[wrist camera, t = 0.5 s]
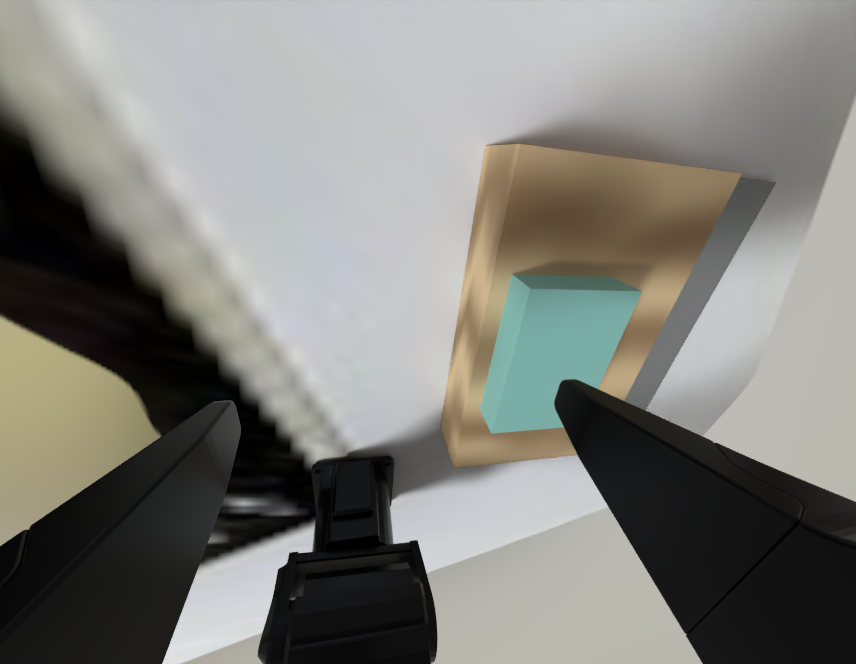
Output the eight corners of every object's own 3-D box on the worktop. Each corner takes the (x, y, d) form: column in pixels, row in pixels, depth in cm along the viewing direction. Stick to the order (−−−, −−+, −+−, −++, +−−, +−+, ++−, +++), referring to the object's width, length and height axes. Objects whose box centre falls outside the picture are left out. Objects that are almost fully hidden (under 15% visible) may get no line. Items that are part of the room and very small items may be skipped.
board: (568, 416, 28) (597, 452, 25) (440, 426, 26) (453, 468, 22) (672, 169, 19) (742, 173, 15) (485, 145, 16) (519, 143, 13)
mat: (641, 411, 30) (643, 413, 30) (568, 416, 28) (570, 419, 28) (770, 182, 20) (776, 182, 20) (672, 169, 19) (676, 169, 18)
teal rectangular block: (562, 404, 21) (580, 425, 19) (479, 409, 20) (491, 433, 18) (613, 277, 17) (642, 291, 15) (511, 274, 16) (530, 288, 14)
